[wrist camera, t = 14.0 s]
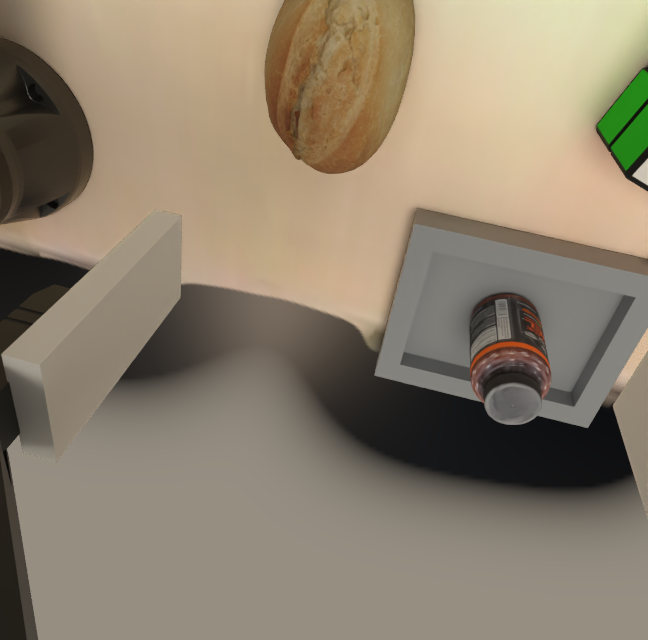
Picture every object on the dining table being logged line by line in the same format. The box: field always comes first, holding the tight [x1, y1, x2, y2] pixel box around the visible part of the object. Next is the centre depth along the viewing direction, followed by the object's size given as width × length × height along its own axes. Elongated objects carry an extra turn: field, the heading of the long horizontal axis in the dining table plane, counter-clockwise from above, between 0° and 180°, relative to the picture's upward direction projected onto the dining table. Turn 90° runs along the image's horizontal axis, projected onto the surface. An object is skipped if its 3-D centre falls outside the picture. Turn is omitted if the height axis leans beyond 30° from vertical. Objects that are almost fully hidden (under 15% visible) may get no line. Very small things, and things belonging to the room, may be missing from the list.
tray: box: [375, 208, 648, 428], centre depth 50 cm, size 20×16×3 cm
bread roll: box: [265, 0, 415, 174], centre depth 39 cm, size 10×15×8 cm, turn 170°
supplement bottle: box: [469, 294, 552, 425], centre depth 46 cm, size 6×6×11 cm
